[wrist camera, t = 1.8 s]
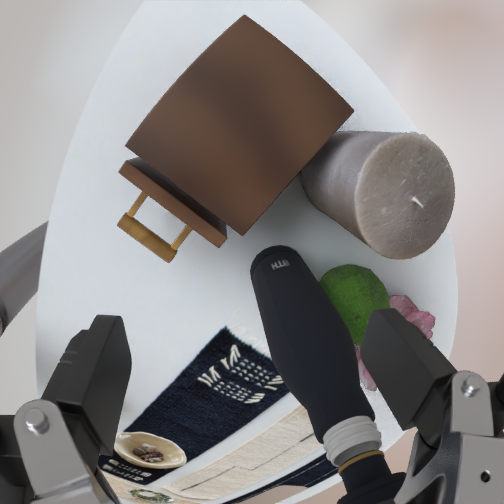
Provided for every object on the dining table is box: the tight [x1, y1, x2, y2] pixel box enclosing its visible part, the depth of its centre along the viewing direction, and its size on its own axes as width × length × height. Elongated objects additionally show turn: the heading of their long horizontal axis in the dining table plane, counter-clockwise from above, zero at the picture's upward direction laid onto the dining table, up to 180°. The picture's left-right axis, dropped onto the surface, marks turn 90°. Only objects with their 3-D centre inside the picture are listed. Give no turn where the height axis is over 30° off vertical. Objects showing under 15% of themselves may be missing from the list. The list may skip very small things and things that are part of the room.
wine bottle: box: [250, 245, 406, 504], centre depth 21 cm, size 6×6×30 cm
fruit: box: [319, 264, 390, 346], centre depth 31 cm, size 8×8×12 cm
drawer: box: [117, 157, 228, 263], centre depth 25 cm, size 17×10×7 cm, turn 139°
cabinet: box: [125, 15, 354, 236], centre depth 24 cm, size 14×12×9 cm
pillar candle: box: [301, 131, 455, 260], centre depth 24 cm, size 10×10×15 cm
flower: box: [355, 295, 435, 391], centre depth 36 cm, size 15×15×10 cm
